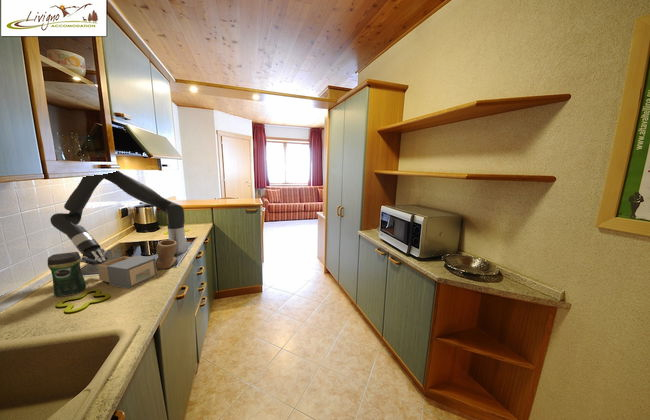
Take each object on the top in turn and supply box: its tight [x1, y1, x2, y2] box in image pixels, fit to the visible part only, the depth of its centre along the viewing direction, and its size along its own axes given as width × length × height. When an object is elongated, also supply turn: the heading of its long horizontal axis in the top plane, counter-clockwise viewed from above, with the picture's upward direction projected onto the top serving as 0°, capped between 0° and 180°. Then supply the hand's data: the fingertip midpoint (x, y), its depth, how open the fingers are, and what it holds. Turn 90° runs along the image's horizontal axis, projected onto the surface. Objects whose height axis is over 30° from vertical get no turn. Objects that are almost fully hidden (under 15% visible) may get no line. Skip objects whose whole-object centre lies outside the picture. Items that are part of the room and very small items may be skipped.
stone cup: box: [155, 239, 178, 270], centre depth 133 cm, size 15×12×15 cm
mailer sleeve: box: [107, 255, 158, 290], centre depth 115 cm, size 14×12×10 cm
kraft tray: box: [96, 256, 155, 286], centre depth 116 cm, size 12×20×8 cm, turn 77°
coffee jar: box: [47, 251, 87, 298], centre depth 102 cm, size 10×8×19 cm
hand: (106, 268), depth 119 cm, fingers closed
